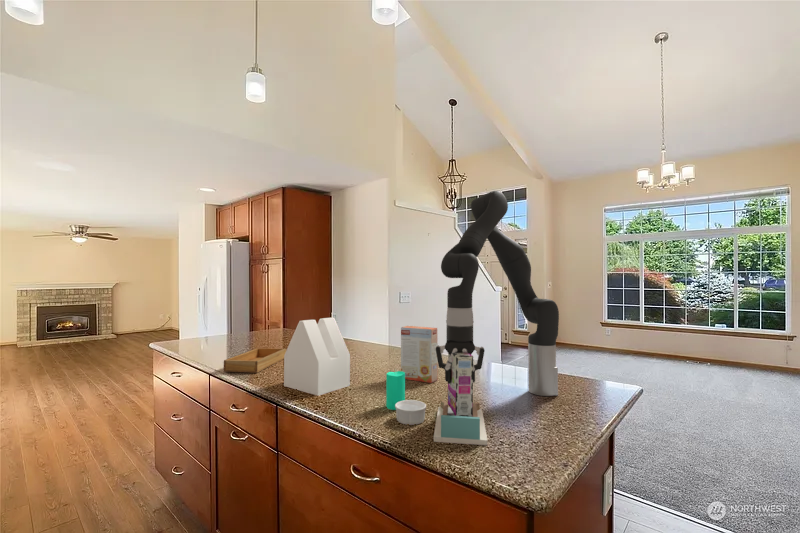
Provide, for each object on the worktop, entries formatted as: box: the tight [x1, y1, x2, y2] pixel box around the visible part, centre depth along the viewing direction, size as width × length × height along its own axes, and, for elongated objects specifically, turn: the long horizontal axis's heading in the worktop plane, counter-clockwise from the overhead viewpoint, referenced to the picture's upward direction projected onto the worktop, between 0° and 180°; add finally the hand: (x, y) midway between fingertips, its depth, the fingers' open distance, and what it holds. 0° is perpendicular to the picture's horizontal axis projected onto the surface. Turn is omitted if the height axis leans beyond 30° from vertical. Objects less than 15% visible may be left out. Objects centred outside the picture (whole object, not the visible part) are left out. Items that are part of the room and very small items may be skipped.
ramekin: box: [395, 399, 427, 426], centre depth 108 cm, size 9×9×4 cm
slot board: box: [433, 399, 488, 446], centre depth 103 cm, size 13×22×6 cm, turn 171°
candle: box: [385, 370, 406, 411], centre depth 119 cm, size 6×6×12 cm
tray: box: [223, 347, 287, 374], centre depth 175 cm, size 31×15×6 cm, turn 175°
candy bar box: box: [447, 353, 474, 417], centre depth 106 cm, size 11×5×16 cm, turn 5°
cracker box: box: [400, 325, 439, 384], centre depth 151 cm, size 14×6×21 cm, turn 59°
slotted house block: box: [283, 317, 351, 396], centre depth 142 cm, size 19×15×25 cm
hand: (459, 383), depth 106 cm, fingers closed on candy bar box, 5 cm apart
